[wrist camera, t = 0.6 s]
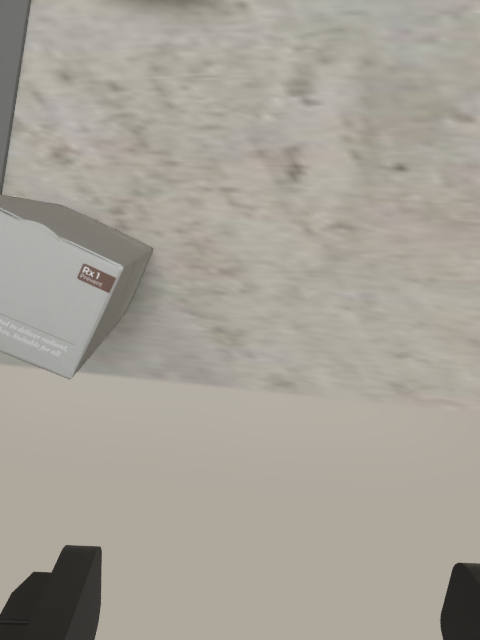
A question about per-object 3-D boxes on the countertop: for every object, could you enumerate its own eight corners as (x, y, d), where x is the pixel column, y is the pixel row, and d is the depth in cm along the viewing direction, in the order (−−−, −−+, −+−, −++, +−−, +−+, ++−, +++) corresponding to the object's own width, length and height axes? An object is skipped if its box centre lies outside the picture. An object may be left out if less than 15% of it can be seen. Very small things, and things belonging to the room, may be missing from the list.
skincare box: (31, 275, 35) (-115, 323, 20) (64, 192, 34) (-65, 175, 18) (128, 319, 36) (63, 398, 21) (164, 242, 35) (122, 264, 19)
